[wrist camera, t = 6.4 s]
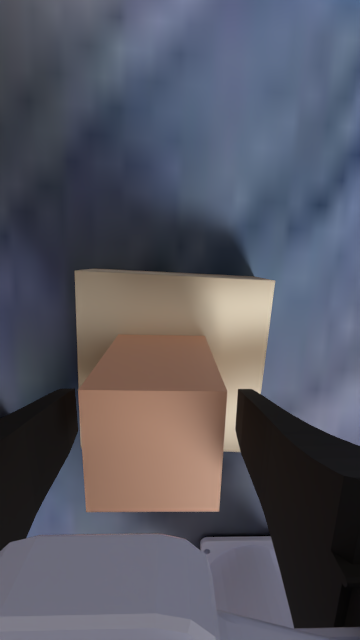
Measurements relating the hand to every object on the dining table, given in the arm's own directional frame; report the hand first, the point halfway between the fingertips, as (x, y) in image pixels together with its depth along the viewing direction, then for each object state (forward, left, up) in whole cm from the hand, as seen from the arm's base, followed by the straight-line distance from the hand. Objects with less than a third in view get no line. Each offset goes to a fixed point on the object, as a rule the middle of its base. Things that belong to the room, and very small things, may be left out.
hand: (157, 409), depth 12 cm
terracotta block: (0, 0, -3) cm, 3 cm away
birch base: (+1, -1, -7) cm, 7 cm away
